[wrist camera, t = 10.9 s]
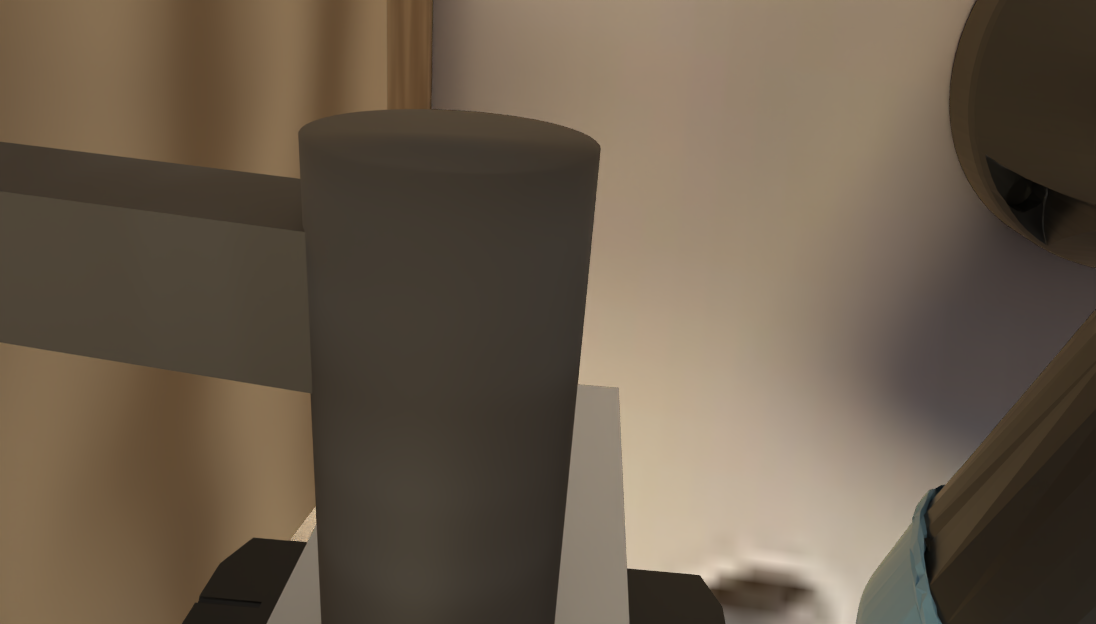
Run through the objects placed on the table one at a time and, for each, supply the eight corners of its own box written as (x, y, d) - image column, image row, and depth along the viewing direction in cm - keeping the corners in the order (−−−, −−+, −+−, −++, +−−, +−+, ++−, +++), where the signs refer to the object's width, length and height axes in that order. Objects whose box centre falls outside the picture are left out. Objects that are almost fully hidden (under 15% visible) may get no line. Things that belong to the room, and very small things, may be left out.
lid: (365, -53, 23) (696, -26, 21) (371, 406, 28) (633, 449, 27) (-1293, -152, 4) (520, 7, 3) (-302, 1250, 10) (436, 1523, 8)
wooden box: (433, -44, 32) (366, -44, 23) (428, 292, 38) (372, 400, 28) (-73, -83, 33) (-337, -100, 23) (-5, 254, 38) (-197, 347, 29)
